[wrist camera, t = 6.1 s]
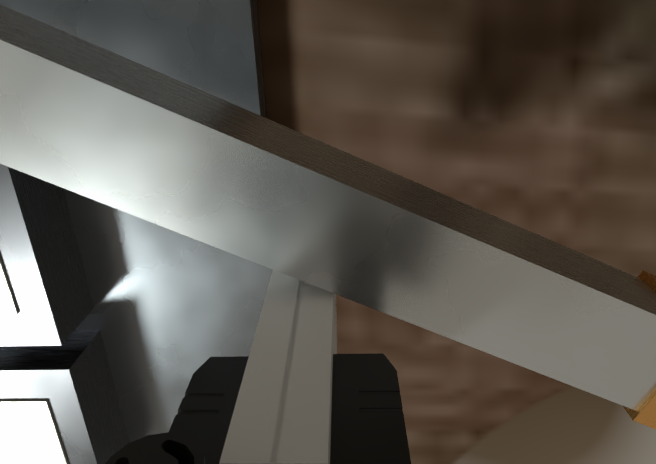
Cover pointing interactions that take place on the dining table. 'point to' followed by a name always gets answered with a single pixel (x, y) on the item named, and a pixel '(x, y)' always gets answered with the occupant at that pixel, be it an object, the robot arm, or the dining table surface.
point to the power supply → (38, 264)
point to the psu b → (59, 403)
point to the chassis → (156, 241)
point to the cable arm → (319, 214)
